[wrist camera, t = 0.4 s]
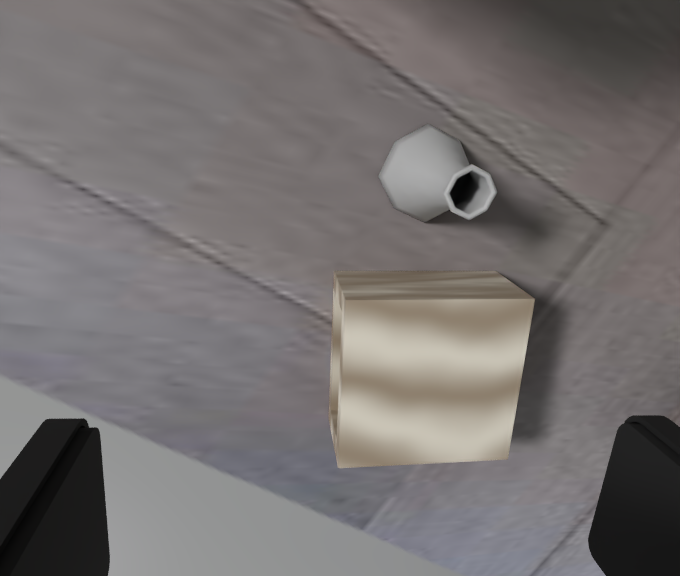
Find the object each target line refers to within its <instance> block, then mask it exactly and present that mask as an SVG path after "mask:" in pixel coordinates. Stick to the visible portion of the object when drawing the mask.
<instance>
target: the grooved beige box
mask: <svg viewBox="0 0 680 576" xmlns="http://www.w3.org/2000/svg"><path fill="white" fill-rule="evenodd" d="M534 302H535V299H534V298H533V297H532V296H530V295H529V294H527V293H526V292H525V291H523V290H522V289H520V288H519V287H518V286H516V285H515V284H513V283H512V282H511V281H509V280H508V279H506V278H505V277H504V276H502V275H501V274H499V273H498V272H497V271H334V288H333V315H332V342H331V369H330V397H329V422H330V428H331V433H332V438H333V443H334V449H335V454H336V459H337V464H338V468H350V467H370V466H389V465H409V464H429V463H448V462H468V461H488V460H507V459H508V455H509V449H510V443H511V437H512V431H513V425H514V419H515V414H516V408H517V402H518V396H519V390H520V384H521V378H522V372H523V366H524V361H525V355H526V349H527V343H528V337H529V331H530V325H531V319H532V314H533V308H534Z"/></svg>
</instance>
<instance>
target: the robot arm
mask: <svg viewBox="0 0 680 576" xmlns="http://www.w3.org/2000/svg"><path fill="white" fill-rule="evenodd" d="M105 505H106V503H105V491H104V479H103V465H102V453H101V441H100V432H99V429H98V428H89V426H88V423H87V421H86V420H85V419H47V420H45V421H44V422H43V423H42V424H41V426H40V427H39V428H38V430H37V431H36V433H35V434H34V435H33V436H32V438H31V439H30V440H29V442H28V443H27V444H26V446H25V447H24V448H23V450H22V451H21V452H20V454H19V455H18V456H17V458H16V459H15V460H14V462H13V463H12V464H11V466H10V467H9V468H8V470H7V471H6V472H5V474H4V475H3V476H2V478H1V479H0V576H108V571H109V563H110V555H109V541H108V530H107V516H106V506H105ZM588 543H589V549H590V552H591V555H592V557H593V558H594V560H595V561H596V563H597V564H598V565H599V567H600V568H601V570H602V571H603V572H604V574H605V575H606V576H680V427H679V426H678V425H676V424H675V423H674V422H672V421H671V420H670V419H668V418H666V417H664V416H631V417H629V418H628V419H627V420H626V421H625V423H624V424H622V425H621V426H620V427H619V428H618V430H617V434H616V437H615V441H614V445H613V448H612V452H611V456H610V459H609V463H608V467H607V471H606V474H605V478H604V482H603V485H602V489H601V493H600V496H599V500H598V504H597V507H596V511H595V515H594V519H593V522H592V526H591V530H590V533H589V538H588Z"/></svg>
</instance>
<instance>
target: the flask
mask: <svg viewBox="0 0 680 576" xmlns="http://www.w3.org/2000/svg"><path fill="white" fill-rule="evenodd" d="M378 177H379V179H380V181H381V183H382V185H383V187H384V189H385V191H386V193H387V195H388V197H389V199H390V201H391V204H392V206H393V208H395V209H397V210H399V211H401V212H403V213H405V214H407V215H409V216H411V217H413V218H416V219H418V220H420V221H422V222H427V221H429V220H430V219H432V218H434V217H436V216H438V215H440V214H442V213H443V212H446V211H448V210H450V211H451V212H453V213H455V214H457V215H459V216H461V217H463V218H465V219H467V220H471V219H473V218H474V217H476V216H478V215H480V214H482V213H484V212H486V211H487V210H488V208H489V207H490V205H491V203H492V201H493V199H494V197H495V196H496V194H497V190H496V187H495V185H494V182H493V180H492V177H491V175H490V173H488V172H486V171H484V170H482V169H480V168H478V167H476V166H474V165H472V164H471V165H469V162H468V160H467V157H466V155H465V152H464V150H463V148H462V145H461V143H460V140H458V139H456V138H454V137H453V136H451V135H449V134H447V133H445V132H443V131H441V130H439V129H438V128H436V127H434V126H432V125H430V124H426V125H424V126H423V127H421V128H419V129H417V130H415V131H414V132H412V133H410V134H408V135H406V136H404V137H403V138H401V139H399V140H397V141H395V143H394V145H393V147H392V149H391V151H390V153H389V155H388V157H387V159H386V161H385V163H384V165H383V167H382V169H381V171H380V173H379V176H378Z"/></svg>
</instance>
